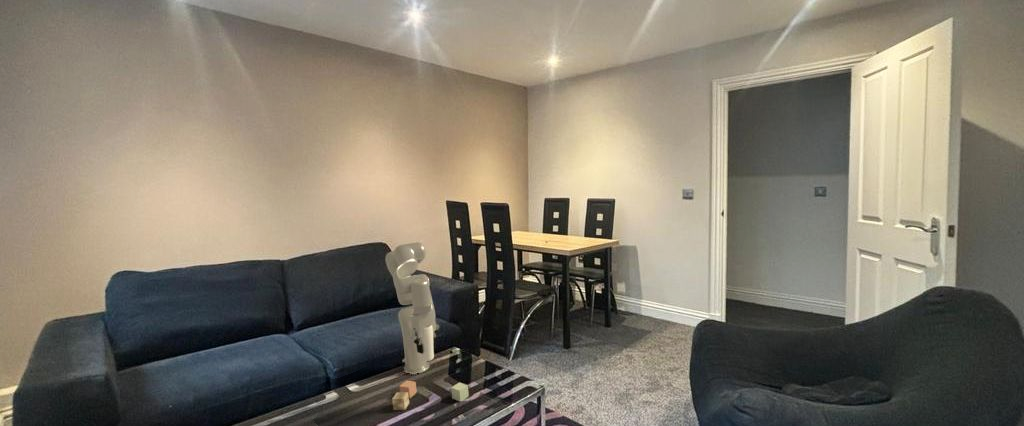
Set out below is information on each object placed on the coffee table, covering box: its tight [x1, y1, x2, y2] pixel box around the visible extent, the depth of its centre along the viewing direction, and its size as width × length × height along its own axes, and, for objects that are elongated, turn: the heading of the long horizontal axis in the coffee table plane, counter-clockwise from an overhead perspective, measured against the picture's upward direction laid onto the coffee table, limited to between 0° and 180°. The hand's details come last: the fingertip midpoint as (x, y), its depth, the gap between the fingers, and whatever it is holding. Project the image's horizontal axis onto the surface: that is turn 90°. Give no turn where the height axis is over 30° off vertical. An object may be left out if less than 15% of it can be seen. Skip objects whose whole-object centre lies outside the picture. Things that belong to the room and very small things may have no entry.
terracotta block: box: [399, 380, 418, 399], centre depth 199 cm, size 5×5×5 cm
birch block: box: [391, 391, 410, 411], centre depth 190 cm, size 5×5×5 cm
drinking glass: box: [418, 325, 435, 362], centre depth 191 cm, size 7×7×15 cm
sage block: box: [450, 382, 470, 402], centre depth 193 cm, size 5×5×5 cm
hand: (426, 349), depth 192 cm, fingers closed on drinking glass, 6 cm apart
